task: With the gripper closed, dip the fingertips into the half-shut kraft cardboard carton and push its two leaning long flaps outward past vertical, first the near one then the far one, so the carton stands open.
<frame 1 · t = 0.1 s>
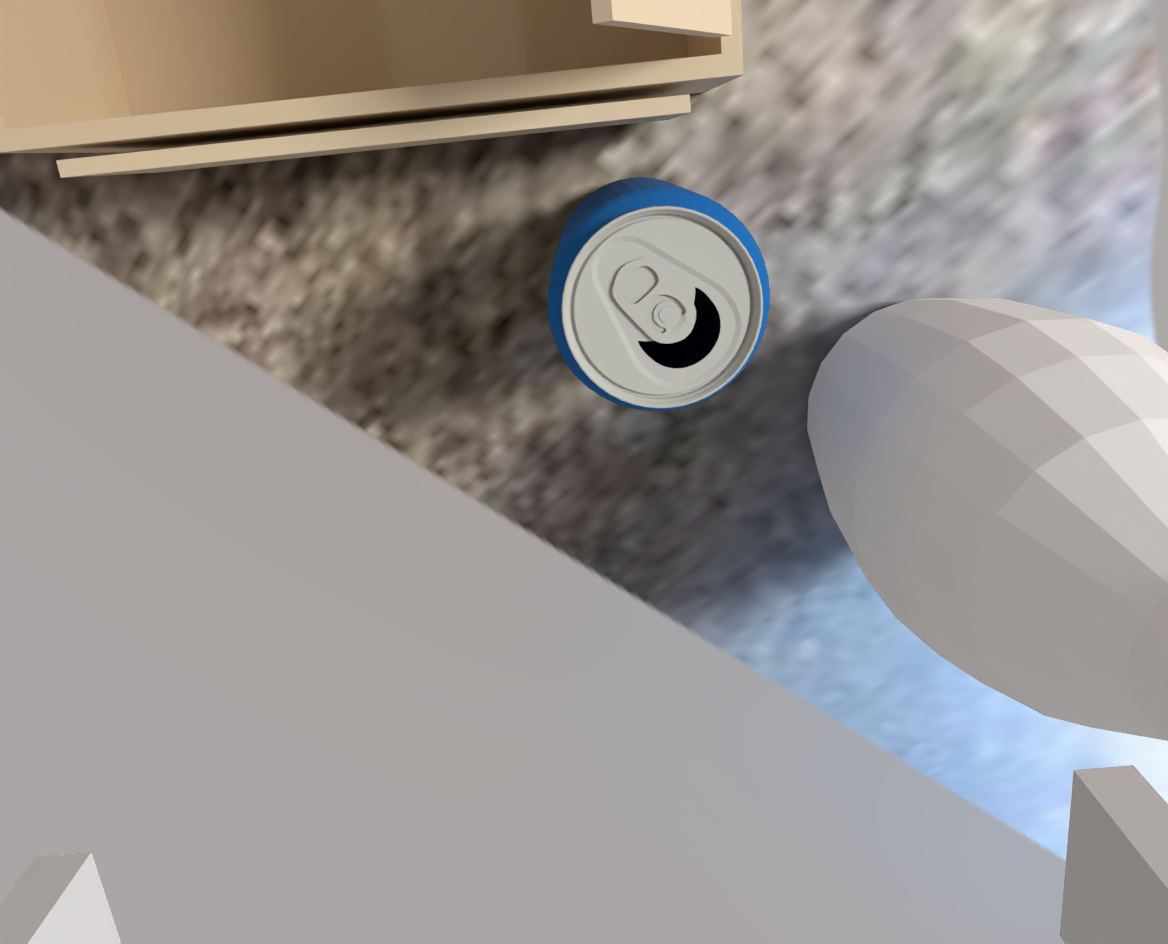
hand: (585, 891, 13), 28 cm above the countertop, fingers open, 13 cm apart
bottle: (911, 404, 40), on the countertop
beverage can: (637, 261, 38), on the countertop
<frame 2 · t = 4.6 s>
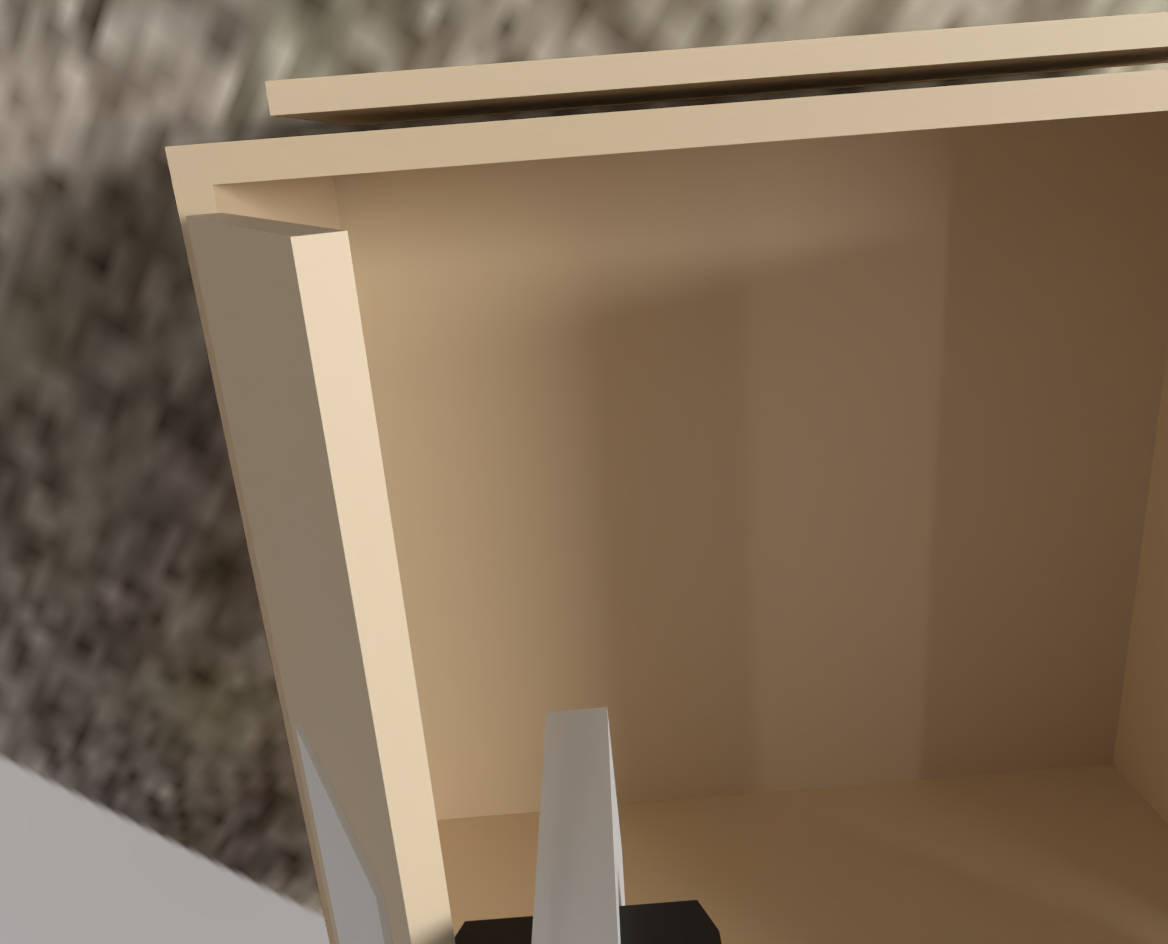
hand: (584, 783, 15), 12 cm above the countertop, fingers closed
carton: (765, 496, 26), on the countertop
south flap: (357, 841, 14), point 13 cm above the countertop, hinge at -27.0°, touching gripper
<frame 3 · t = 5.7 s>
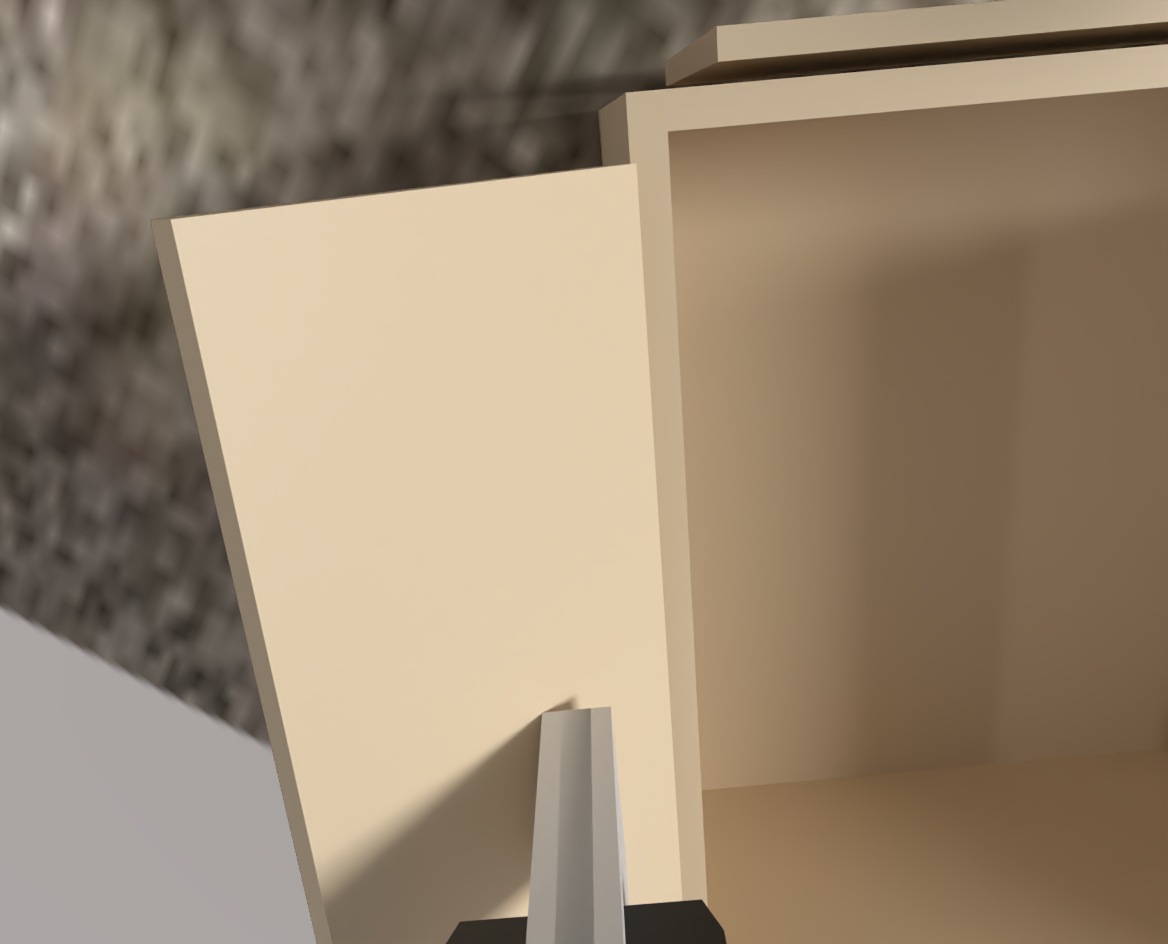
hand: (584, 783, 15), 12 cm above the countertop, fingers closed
carton: (1024, 462, 26), on the countertop
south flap: (513, 784, 15), point 12 cm above the countertop, hinge at 45.8°, touching gripper
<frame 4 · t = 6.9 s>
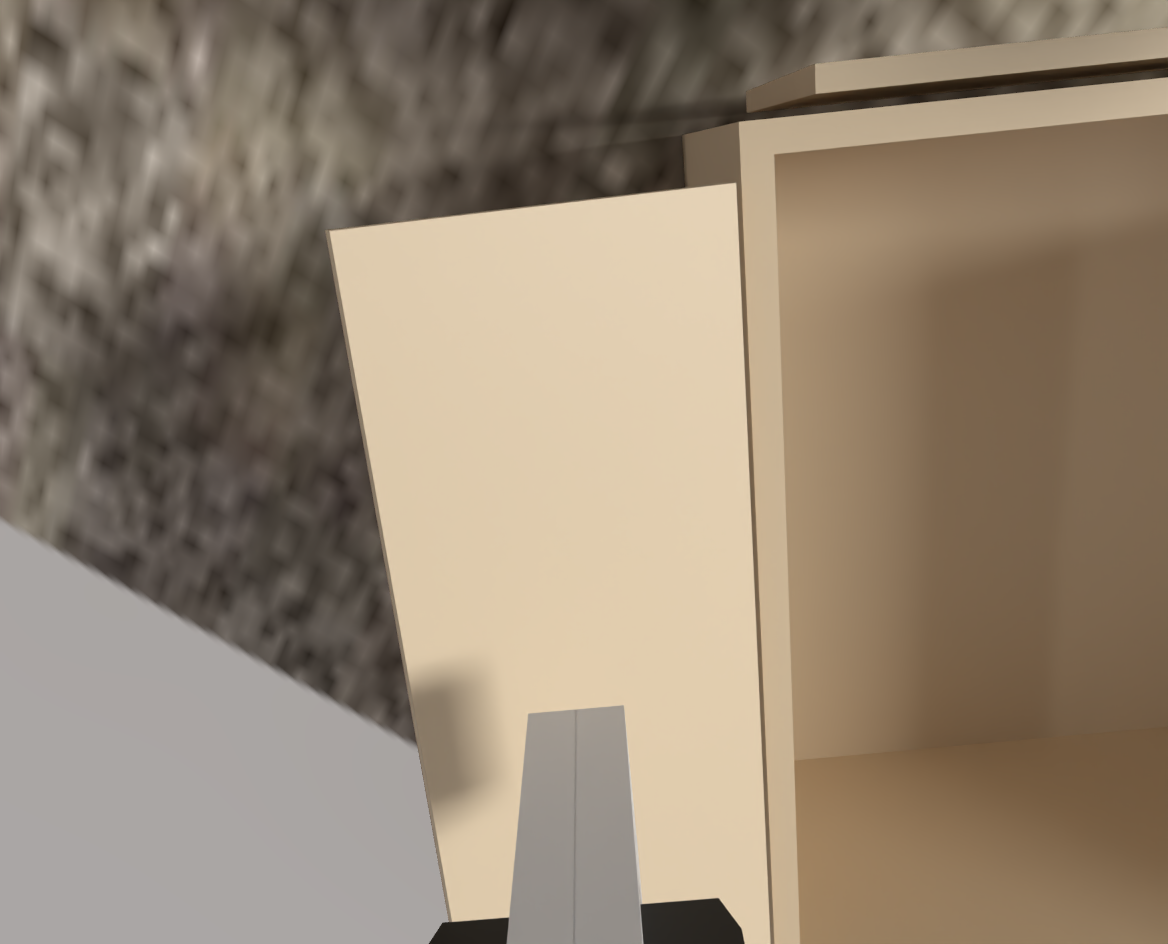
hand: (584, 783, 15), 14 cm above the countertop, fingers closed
carton: (1073, 452, 28), on the countertop
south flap: (593, 683, 18), point 10 cm above the countertop, hinge at 68.6°
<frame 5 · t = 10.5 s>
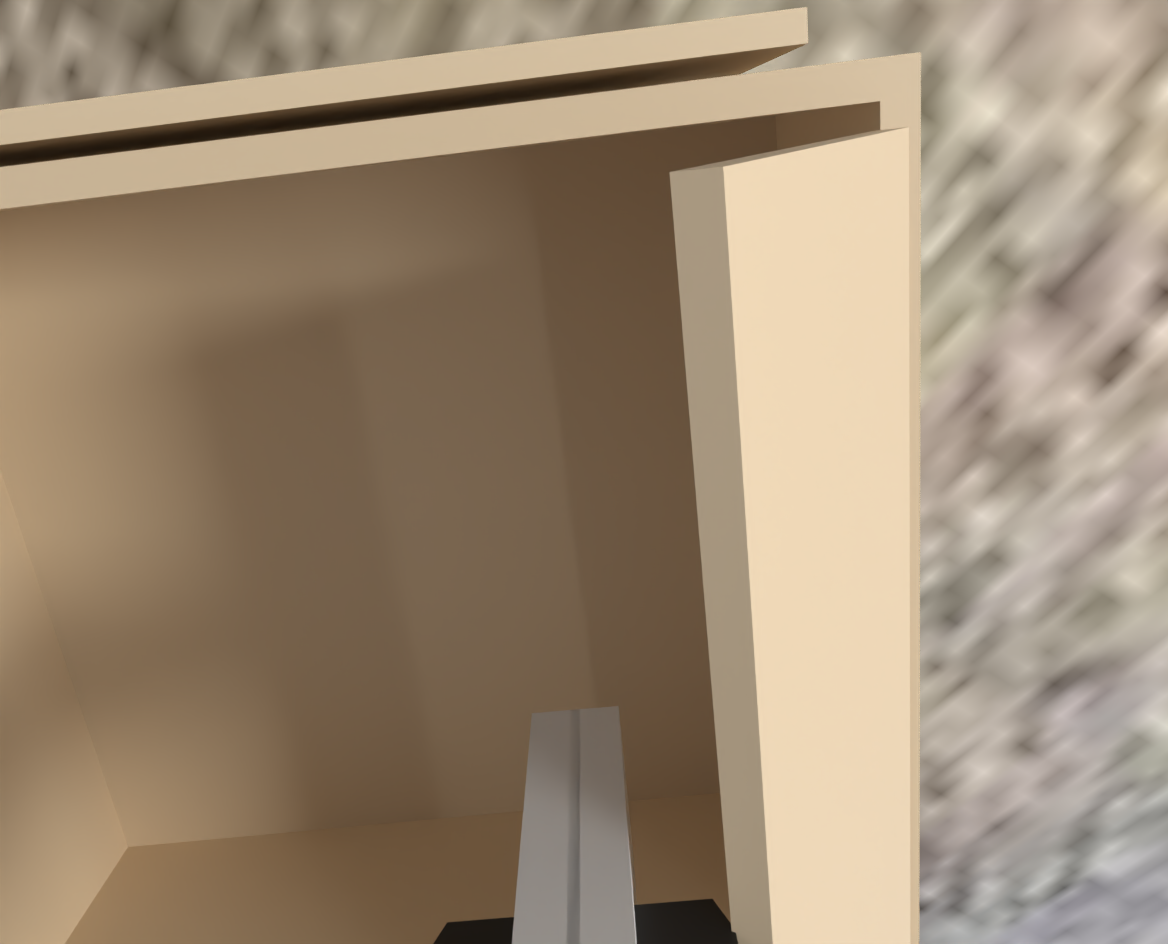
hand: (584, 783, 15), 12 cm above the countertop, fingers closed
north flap: (839, 790, 14), point 13 cm above the countertop, hinge at -29.7°, touching gripper
carton: (410, 523, 26), on the countertop
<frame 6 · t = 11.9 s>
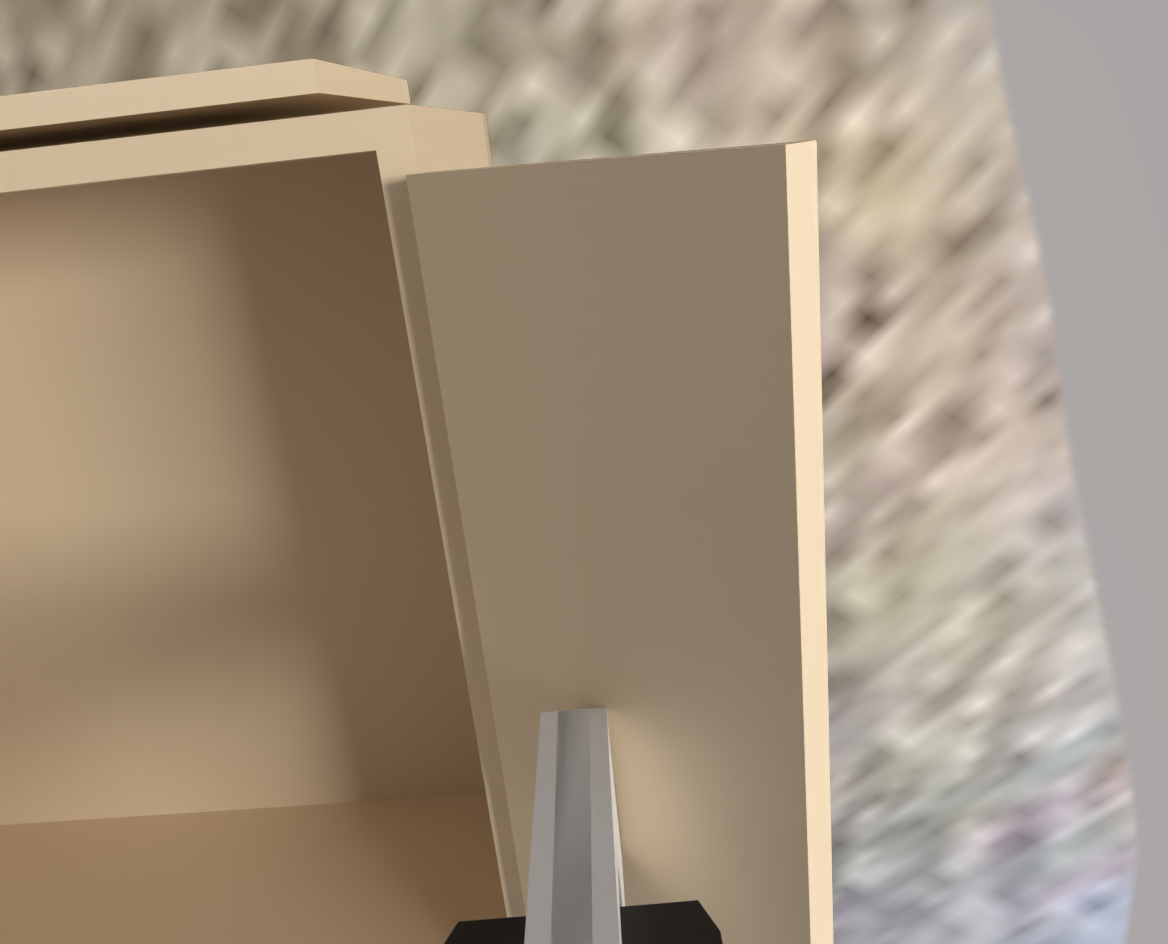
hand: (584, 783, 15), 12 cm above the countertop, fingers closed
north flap: (632, 760, 15), point 12 cm above the countertop, hinge at 43.7°, touching gripper
carton: (155, 528, 27), on the countertop
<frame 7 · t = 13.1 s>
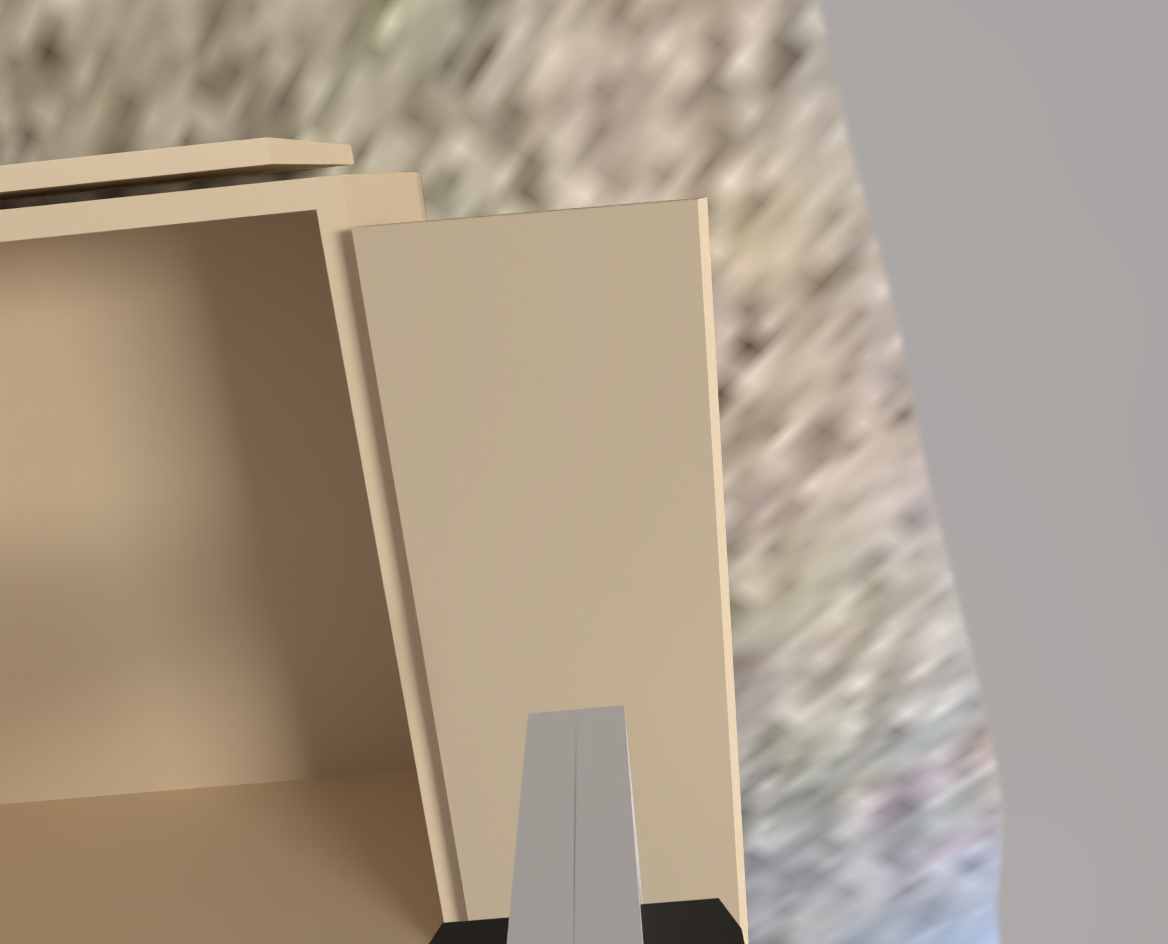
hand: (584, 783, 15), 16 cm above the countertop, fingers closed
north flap: (567, 657, 20), point 11 cm above the countertop, hinge at 65.7°
carton: (128, 531, 30), on the countertop
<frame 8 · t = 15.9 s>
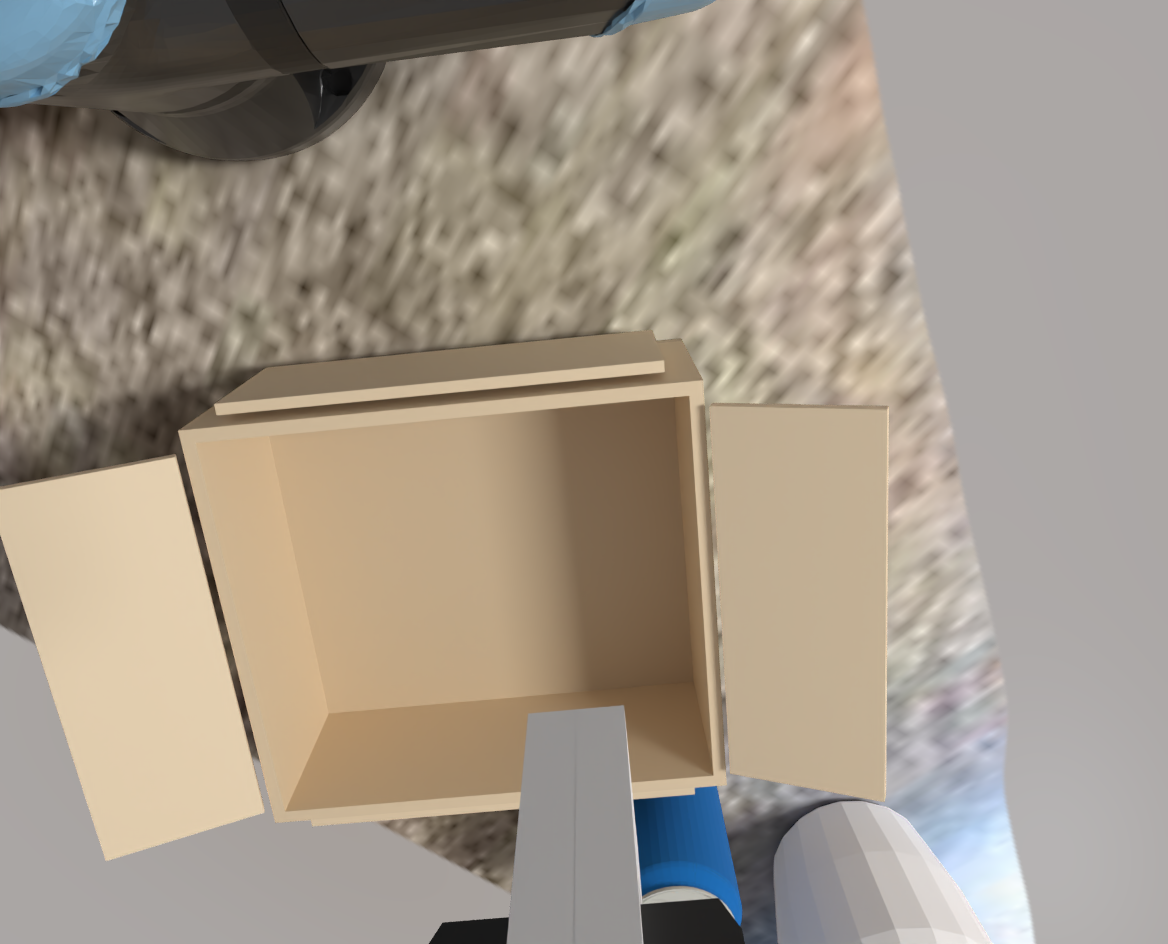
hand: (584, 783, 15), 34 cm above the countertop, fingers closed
bottle: (844, 854, 58), on the countertop
beverage can: (658, 774, 56), on the countertop
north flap: (801, 608, 40), point 11 cm above the countertop, hinge at 65.9°
carton: (489, 541, 51), on the countertop
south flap: (139, 664, 41), point 10 cm above the countertop, hinge at 68.9°
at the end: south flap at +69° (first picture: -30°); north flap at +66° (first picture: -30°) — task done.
